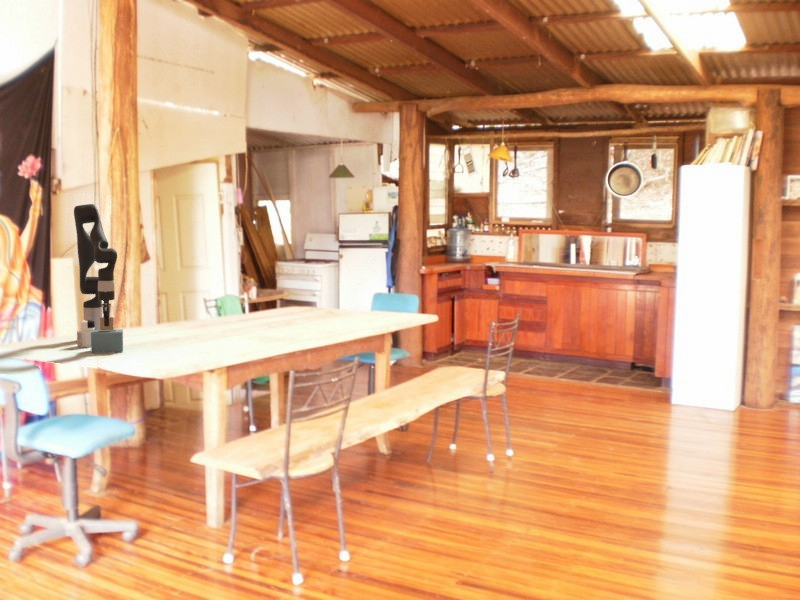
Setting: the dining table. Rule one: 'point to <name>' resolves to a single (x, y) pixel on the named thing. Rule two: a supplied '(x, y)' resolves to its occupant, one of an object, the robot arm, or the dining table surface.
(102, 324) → the block
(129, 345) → the dining table surface
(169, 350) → the dining table surface
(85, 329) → the container
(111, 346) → the coin box
